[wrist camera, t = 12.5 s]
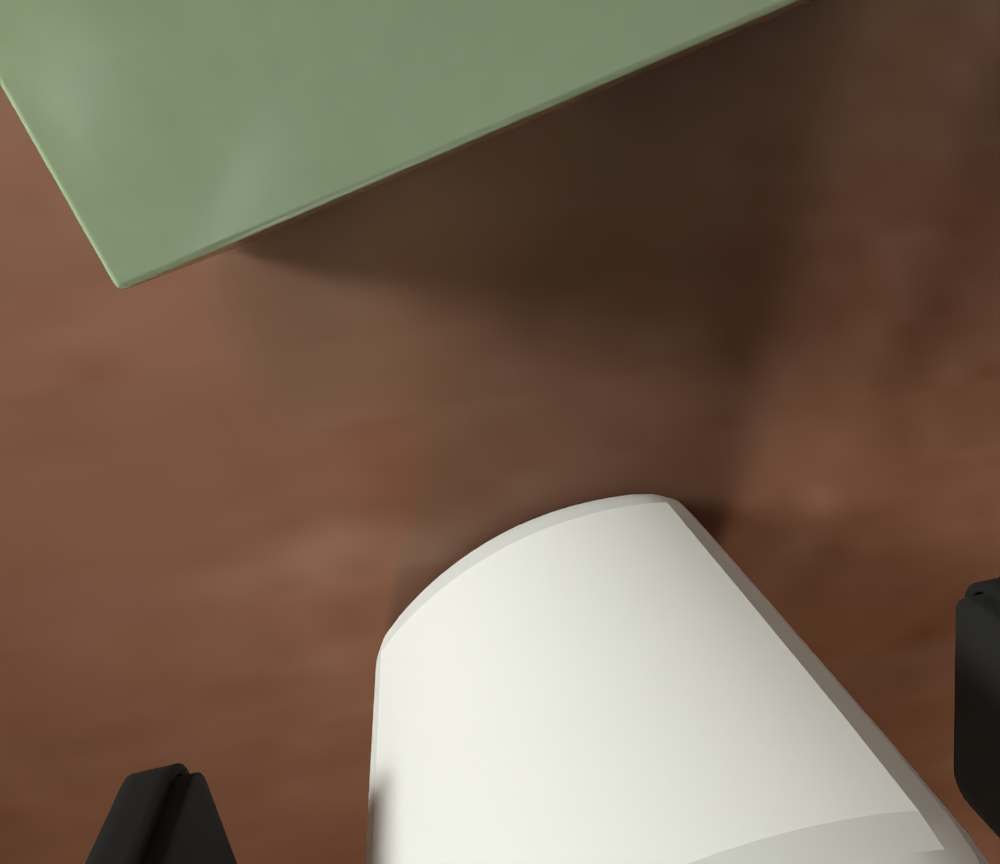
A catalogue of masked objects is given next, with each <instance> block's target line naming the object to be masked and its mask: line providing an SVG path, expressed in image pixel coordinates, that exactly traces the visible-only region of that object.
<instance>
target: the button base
mask: <svg viewBox="0 0 1000 864" xmlns="http://www.w3.org/2000/svg"><path fill="white" fill-rule="evenodd" d="M810 1H813V0H0V85H1V86H2V88H3V90H4V92H5V93H6V95H7V97H8V99H9V100H10V102H11V104H12V106H13V107H14V109H15V111H16V113H17V114H18V116H19V118H20V120H21V121H22V123H23V125H24V127H25V128H26V130H27V132H28V134H29V135H30V137H31V139H32V141H33V142H34V144H35V146H36V148H37V149H38V151H39V153H40V155H41V157H42V158H43V160H44V162H45V164H46V165H47V167H48V169H49V171H50V172H51V174H52V176H53V178H54V179H55V181H56V183H57V185H58V186H59V188H60V190H61V192H62V193H63V195H64V197H65V199H66V200H67V202H68V204H69V206H70V207H71V209H72V211H73V213H74V214H75V216H76V218H77V220H78V221H79V223H80V225H81V227H82V228H83V230H84V232H85V234H86V235H87V237H88V239H89V241H90V242H91V244H92V246H93V248H94V249H95V251H96V253H97V255H98V257H99V258H100V260H101V262H102V264H103V265H104V267H105V269H106V271H107V272H108V274H109V276H110V278H111V279H112V281H113V283H114V285H115V286H116V287H118V288H119V289H127V288H130V287H133V286H135V285H138V284H141V283H144V282H146V281H149V280H152V279H154V278H157V277H160V276H162V275H165V274H168V273H170V272H173V271H176V270H178V269H181V268H184V267H187V266H189V265H192V264H195V263H197V262H200V261H203V260H205V259H208V258H211V257H213V256H216V255H219V254H222V253H224V252H227V251H229V250H231V249H234V248H236V247H238V246H241V245H243V244H245V243H248V242H250V241H252V240H255V239H257V238H259V237H262V236H264V235H266V234H269V233H271V232H273V231H276V230H278V229H280V228H283V227H285V226H287V225H290V224H292V223H294V222H297V221H299V220H301V219H304V218H306V217H308V216H311V215H313V214H315V213H318V212H320V211H322V210H325V209H327V208H329V207H332V206H334V205H336V204H339V203H341V202H343V201H346V200H348V199H350V198H353V197H355V196H357V195H360V194H362V193H364V192H367V191H369V190H371V189H374V188H376V187H378V186H381V185H383V184H385V183H388V182H390V181H392V180H395V179H397V178H399V177H402V176H404V175H406V174H409V173H411V172H413V171H416V170H418V169H420V168H423V167H425V166H427V165H430V164H432V163H434V162H437V161H439V160H441V159H444V158H446V157H448V156H451V155H453V154H455V153H458V152H460V151H462V150H465V149H467V148H469V147H472V146H474V145H476V144H479V143H481V142H483V141H486V140H488V139H490V138H493V137H495V136H497V135H500V134H502V133H504V132H507V131H509V130H511V129H514V128H516V127H519V126H521V125H523V124H526V123H528V122H530V121H533V120H535V119H537V118H540V117H542V116H544V115H547V114H549V113H551V112H554V111H556V110H558V109H561V108H563V107H565V106H568V105H570V104H572V103H575V102H577V101H579V100H582V99H584V98H586V97H589V96H591V95H593V94H596V93H598V92H600V91H603V90H605V89H607V88H610V87H612V86H614V85H617V84H619V83H621V82H624V81H626V80H628V79H631V78H633V77H635V76H638V75H640V74H642V73H645V72H647V71H649V70H652V69H654V68H656V67H659V66H661V65H663V64H666V63H668V62H670V61H673V60H675V59H677V58H680V57H682V56H684V55H687V54H689V53H691V52H694V51H696V50H698V49H701V48H703V47H705V46H708V45H710V44H712V43H715V42H717V41H719V40H722V39H724V38H726V37H729V36H731V35H733V34H736V33H738V32H740V31H743V30H745V29H747V28H750V27H752V26H754V25H757V24H759V23H761V22H764V21H766V20H768V19H771V18H773V17H775V16H778V15H780V14H782V13H785V12H787V11H789V10H792V9H794V8H796V7H799V6H801V5H803V4H806V3H808V2H810Z"/></svg>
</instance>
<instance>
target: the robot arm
mask: <svg viewBox="0 0 1000 864" xmlns="http://www.w3.org/2000/svg"><path fill="white" fill-rule="evenodd" d="M954 775H955V779H956V783H957V785H958V787H959V790H960V792H961V793H962V795H963V797H964V799H965V800H966V801H967V802H968V804H969V805H970V806H971V807H972V808H973V809H974V810H975V812H976V813H977V814H978V815H979V816H980V817H981V818H982V819H983V820H984V821H985V822H986V824H987V825H988V826H989V827H990V828H991V829H992V830H993V831H994V832H995V833H996V834H997V836H998V837H999V838H1000V577H999V578H995V579H990V580H986V581H982V582H977V583H974V584H972V585H970V586H969V588H968V589H967V591H966V595H965V598H963V599H961V600H959V602H958V604H957V607H956V648H955V722H954ZM85 864H237V863H236V860H235V858H234V855H233V852H232V850H231V847H230V844H229V842H228V839H227V836H226V833H225V831H224V828H223V825H222V823H221V820H220V817H219V814H218V812H217V809H216V806H215V804H214V801H213V798H212V796H211V793H210V790H209V787H208V785H207V782H206V780H205V778H204V776H203V775H202V774H201V773H198V772H197V773H192V774H189V772H188V770H187V768H186V767H185V766H184V765H183V764H179V763H177V764H173V765H169V766H164V767H160V768H155V769H151V770H146V771H142V772H138V773H133V774H131V775H129V776H128V777H127V778H126V779H125V781H124V782H123V784H122V786H121V788H120V790H119V792H118V794H117V797H116V799H115V801H114V803H113V805H112V807H111V809H110V812H109V814H108V816H107V818H106V820H105V822H104V824H103V827H102V829H101V831H100V833H99V835H98V837H97V839H96V842H95V844H94V846H93V848H92V850H91V852H90V854H89V857H88V859H87V861H86V863H85Z"/></svg>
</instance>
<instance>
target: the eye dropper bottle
mask: <svg viewBox="0 0 1000 864" xmlns="http://www.w3.org/2000/svg"><path fill="white" fill-rule="evenodd" d="M366 864H989V863H988V862H987V860H986V859H985V858H984V856H983V855H982V853H981V852H980V850H979V849H978V848H977V846H976V845H975V843H974V842H973V841H972V839H971V838H970V836H969V835H968V833H967V832H966V831H965V830H964V829H963V827H962V826H961V825H960V824H959V823H958V821H957V820H956V819H955V818H954V817H953V815H952V814H951V813H950V812H949V811H948V810H947V808H946V807H945V806H944V805H943V804H942V802H941V801H940V800H939V799H938V798H937V796H936V795H935V794H934V793H933V792H932V790H931V789H930V788H929V787H928V786H927V784H926V783H925V782H924V781H923V780H922V778H921V777H920V776H919V775H918V774H917V772H916V771H915V770H914V769H913V768H912V766H911V765H910V764H909V763H908V762H907V760H906V759H905V758H904V757H903V756H902V754H901V753H900V752H899V751H898V750H897V748H896V747H895V746H894V745H893V744H892V743H891V741H890V740H889V739H888V738H887V737H886V736H885V734H884V733H883V732H882V731H881V730H880V729H879V727H878V726H877V725H876V724H875V723H874V722H873V721H872V719H871V718H870V717H869V716H868V715H867V714H866V713H865V711H864V710H863V709H862V708H861V707H860V706H859V704H858V703H857V702H856V701H855V700H854V699H853V698H852V696H851V695H850V694H849V693H848V692H847V691H846V689H845V688H844V687H843V686H842V685H841V684H840V683H839V681H838V680H837V679H836V678H835V677H834V676H833V675H832V673H831V672H830V671H829V670H828V669H827V668H826V666H825V665H824V664H823V663H822V662H821V661H820V660H819V658H818V657H817V656H816V655H815V654H814V653H813V651H812V650H811V649H810V648H809V647H808V646H807V645H806V643H805V642H804V641H803V640H802V639H801V638H800V636H799V635H798V634H797V633H796V632H795V631H794V630H793V628H792V627H791V626H790V625H789V624H788V623H787V622H786V620H785V619H784V618H783V617H782V616H781V615H780V614H779V612H778V611H777V610H776V609H775V608H774V607H773V606H772V604H771V603H770V602H769V601H768V600H767V599H766V598H765V596H764V595H763V594H762V593H761V592H760V591H759V590H758V588H757V587H756V586H755V585H754V584H753V583H752V582H751V580H750V579H749V578H748V577H747V576H746V575H745V574H744V572H743V571H742V570H741V569H740V568H739V567H738V566H737V565H736V563H735V562H734V561H733V560H732V559H731V558H730V557H729V555H728V554H727V553H726V552H725V551H724V550H723V549H722V547H721V546H720V545H719V544H718V543H717V542H716V541H715V539H714V538H713V537H712V536H711V535H710V534H709V533H708V532H707V530H706V529H705V528H704V527H703V526H702V525H701V524H700V522H699V521H698V520H697V519H696V518H695V517H694V516H693V515H692V514H691V513H690V512H689V511H688V510H687V509H686V508H685V507H684V506H683V505H682V504H681V503H680V502H679V501H677V500H675V499H672V498H668V497H664V496H660V495H656V494H634V495H624V496H617V497H610V498H605V499H600V500H595V501H590V502H586V503H582V504H578V505H574V506H570V507H567V508H564V509H561V510H557V511H554V512H551V513H548V514H546V515H543V516H540V517H537V518H535V519H532V520H530V521H528V522H525V523H523V524H521V525H518V526H516V527H514V528H512V529H510V530H508V531H506V532H504V533H502V534H500V535H498V536H497V537H495V538H493V539H491V540H490V541H488V542H486V543H485V544H483V545H481V546H480V547H478V548H477V549H475V550H474V551H472V552H470V553H469V554H468V555H466V556H465V557H463V558H462V559H461V560H459V561H458V562H456V563H455V564H454V565H452V566H451V567H450V568H449V569H447V570H446V571H445V572H444V573H442V574H441V575H440V576H439V577H438V578H437V579H435V580H434V581H433V582H432V583H431V584H430V585H429V586H428V587H427V588H425V589H424V590H423V591H422V592H421V593H420V594H419V595H418V596H417V598H416V599H415V600H414V601H413V602H412V603H411V604H410V605H409V606H408V607H407V608H406V609H405V610H404V612H403V613H402V614H401V615H400V616H399V618H398V619H397V620H396V622H395V623H394V624H393V626H392V627H391V628H390V630H389V631H388V632H387V634H386V636H385V637H384V640H383V642H382V645H381V648H380V651H379V654H378V657H377V663H376V676H375V694H374V711H373V730H372V748H371V767H370V785H369V803H368V822H367V843H366Z"/></svg>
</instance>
